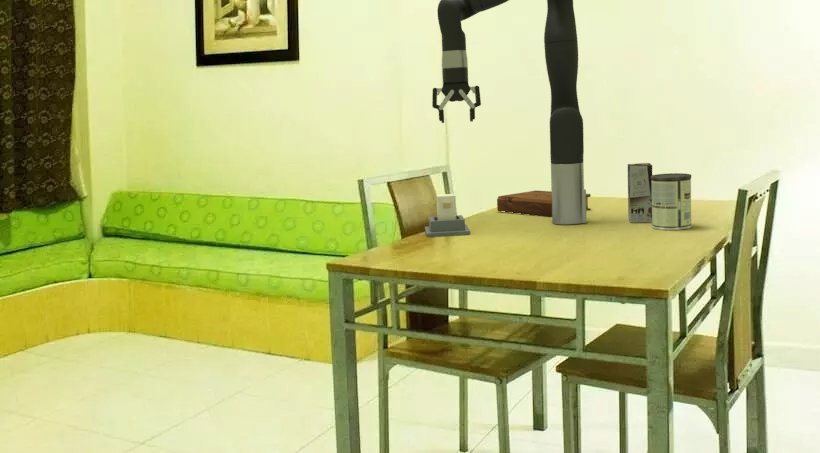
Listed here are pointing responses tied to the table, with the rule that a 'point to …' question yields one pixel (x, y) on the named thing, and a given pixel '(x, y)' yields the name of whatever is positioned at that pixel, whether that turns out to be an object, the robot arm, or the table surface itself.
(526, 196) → the diary
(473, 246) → the table surface
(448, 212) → the cream block
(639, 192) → the coffee box
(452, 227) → the grey stepped pedestal
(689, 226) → the coffee can
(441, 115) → the robot arm
